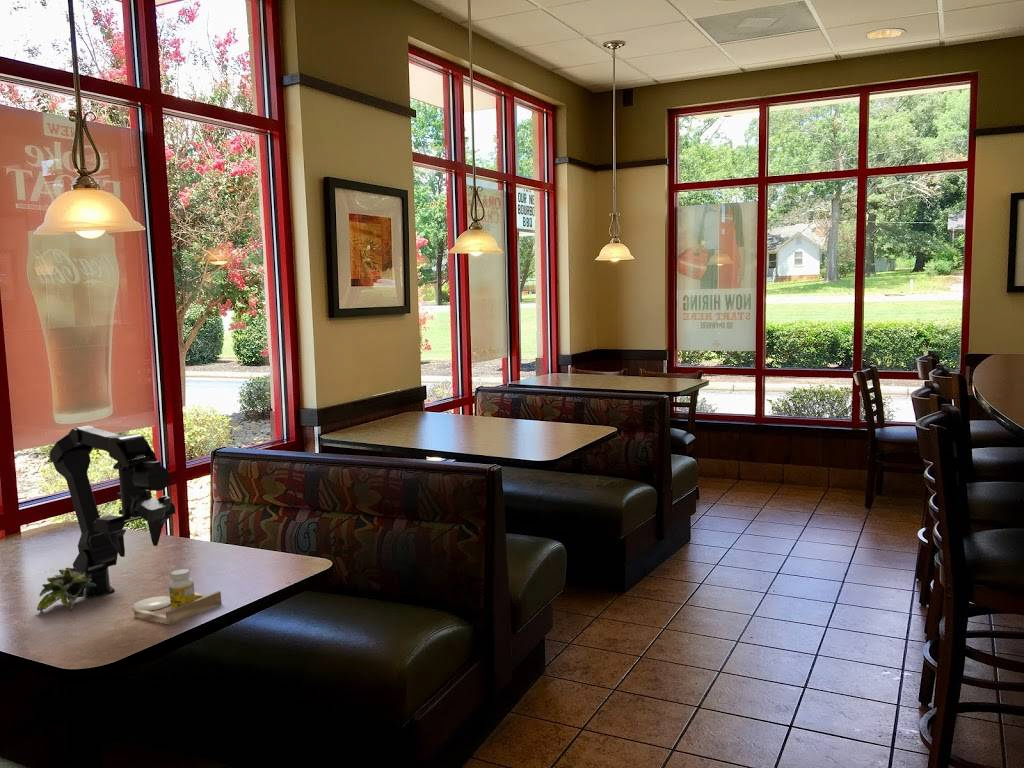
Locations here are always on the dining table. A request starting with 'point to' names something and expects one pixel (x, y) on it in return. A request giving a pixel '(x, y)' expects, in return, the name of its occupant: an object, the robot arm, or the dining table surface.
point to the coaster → (152, 603)
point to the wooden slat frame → (183, 609)
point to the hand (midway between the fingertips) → (139, 551)
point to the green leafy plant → (65, 588)
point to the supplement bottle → (181, 588)
